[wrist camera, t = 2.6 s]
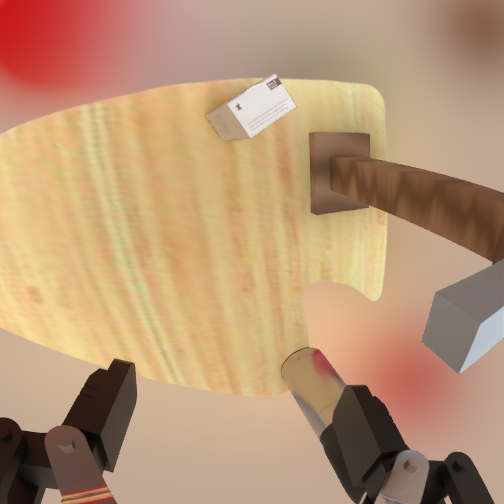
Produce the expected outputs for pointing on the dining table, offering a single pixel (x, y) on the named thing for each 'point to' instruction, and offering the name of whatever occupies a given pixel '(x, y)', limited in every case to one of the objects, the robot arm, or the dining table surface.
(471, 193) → the brown wooden stand
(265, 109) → the skincare box
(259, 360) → the dining table surface
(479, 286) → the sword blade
